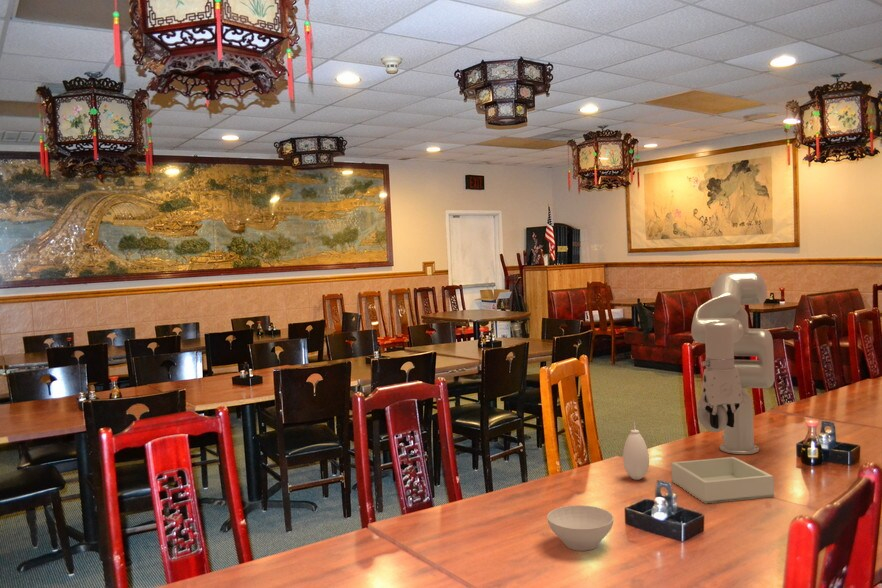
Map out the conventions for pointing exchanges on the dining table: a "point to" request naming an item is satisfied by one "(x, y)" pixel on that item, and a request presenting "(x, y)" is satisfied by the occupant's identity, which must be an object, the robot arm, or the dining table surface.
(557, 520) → the bowl
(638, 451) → the sauce bottle
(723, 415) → the donut
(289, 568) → the dining table surface
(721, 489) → the bin
